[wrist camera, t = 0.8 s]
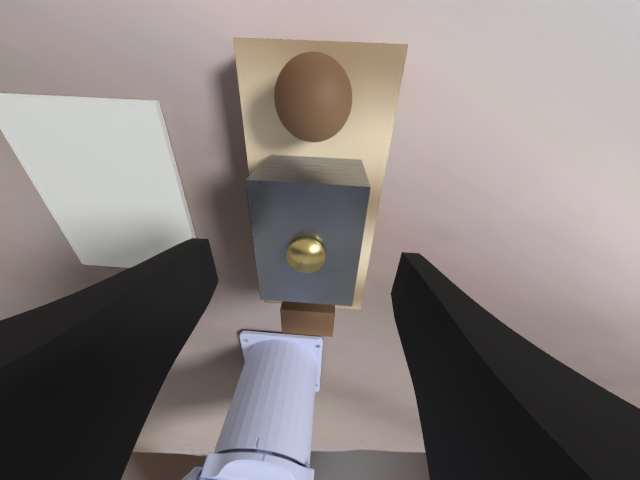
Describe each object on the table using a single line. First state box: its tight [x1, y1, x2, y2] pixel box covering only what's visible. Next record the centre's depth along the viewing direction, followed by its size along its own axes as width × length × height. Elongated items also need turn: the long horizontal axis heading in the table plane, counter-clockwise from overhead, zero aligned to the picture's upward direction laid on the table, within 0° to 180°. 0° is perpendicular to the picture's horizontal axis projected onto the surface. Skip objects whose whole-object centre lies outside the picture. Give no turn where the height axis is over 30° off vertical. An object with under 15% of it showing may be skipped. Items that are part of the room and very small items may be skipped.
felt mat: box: [0, 93, 196, 268], centre depth 17 cm, size 12×10×1 cm
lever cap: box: [245, 155, 371, 306], centre depth 12 cm, size 6×4×4 cm
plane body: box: [233, 38, 408, 337], centre depth 13 cm, size 15×7×6 cm, turn 178°
